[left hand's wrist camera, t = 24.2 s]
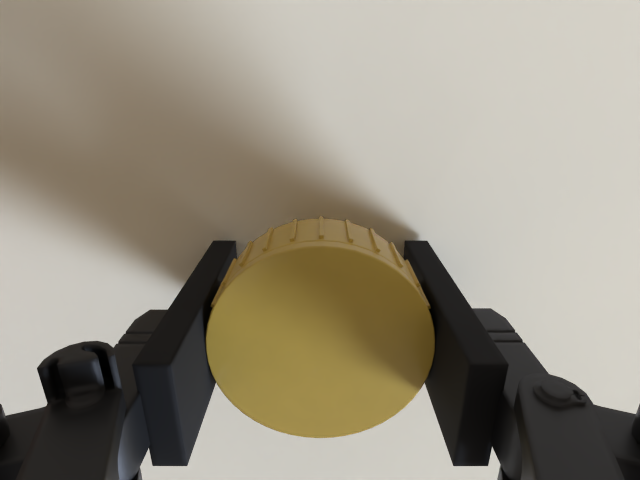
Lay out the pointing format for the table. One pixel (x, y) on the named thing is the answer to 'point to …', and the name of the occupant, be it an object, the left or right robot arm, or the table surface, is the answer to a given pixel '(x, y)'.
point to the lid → (320, 330)
